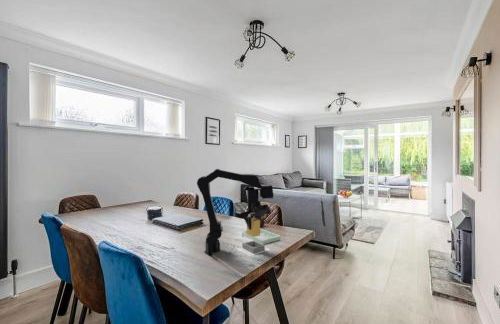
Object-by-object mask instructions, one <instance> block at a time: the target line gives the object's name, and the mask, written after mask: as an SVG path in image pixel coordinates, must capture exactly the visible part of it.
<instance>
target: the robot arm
mask: <svg viewBox="0 0 500 324" xmlns="http://www.w3.org/2000/svg"><path fill="white" fill-rule="evenodd" d="M217 178H222V179H226V180H229V181H230V180H232V181H237V182H241V183H242V184H245V185H246V186H245V187H244V188H243V191H247V193H246V194H247V199H246V200H245V202H246V203H245V204H247V208H246V209H245V210H246V211H245V210H243V209H241V210H236V211H235V213H234V214H235V216H234V217H236V218H238V219H243V220H244V221H245V224H246V227H247V226H248V228H249V230H251V219H252V218H256V219H259V220H261V219H263V217H265V216H266V215H268V214H271V209H270V207H269V205H268V204H264V205H262V204H261V200H259V197H260V198H261V199H263V200H265V199H274V189H273V185H270V184H269V185H262V183H260V179H259V177H258V176H257V175H255V174H252V173H251V174H250V173H249V174H248V173H244V174H243V173H237V172H231V171H227V170H221V169H219V168H216V169H215V170H214V171H212V172H211V173H208V174H207V175H205V176H204V175H203V176H201V177H199V178H198V179H197V181H196V185H197V188H198V190H199V191H200V194H201V195H202V198H203V199H202V200H203V202H204V206H205V209H206V210H205V211H206V213H207V218H208V221H209V232H208V233H207V235H206V238H205V250H204V251H203V252H204V253H205V254H206V255H208V256H213V255H214V254H215V253H217V252H218V251H220V250H221V243H220V240H219V239H220V238H221V237H222V233H223V232H224V231H223V230H224V228H223V226H222V220H218V218H217V214H216V210H215V206H214V203H213V199H212V195H211V182H213V181H214V180H216V179H217ZM255 187H256V188H255ZM252 215H253V216H254V217H252ZM213 253H214V254H213Z"/></svg>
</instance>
